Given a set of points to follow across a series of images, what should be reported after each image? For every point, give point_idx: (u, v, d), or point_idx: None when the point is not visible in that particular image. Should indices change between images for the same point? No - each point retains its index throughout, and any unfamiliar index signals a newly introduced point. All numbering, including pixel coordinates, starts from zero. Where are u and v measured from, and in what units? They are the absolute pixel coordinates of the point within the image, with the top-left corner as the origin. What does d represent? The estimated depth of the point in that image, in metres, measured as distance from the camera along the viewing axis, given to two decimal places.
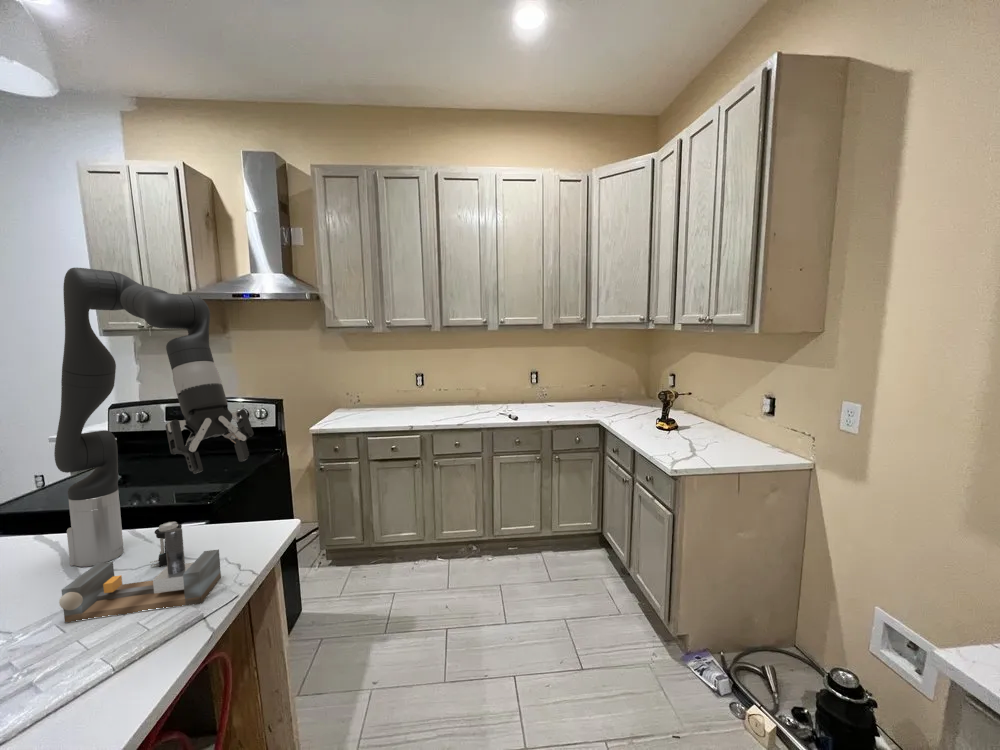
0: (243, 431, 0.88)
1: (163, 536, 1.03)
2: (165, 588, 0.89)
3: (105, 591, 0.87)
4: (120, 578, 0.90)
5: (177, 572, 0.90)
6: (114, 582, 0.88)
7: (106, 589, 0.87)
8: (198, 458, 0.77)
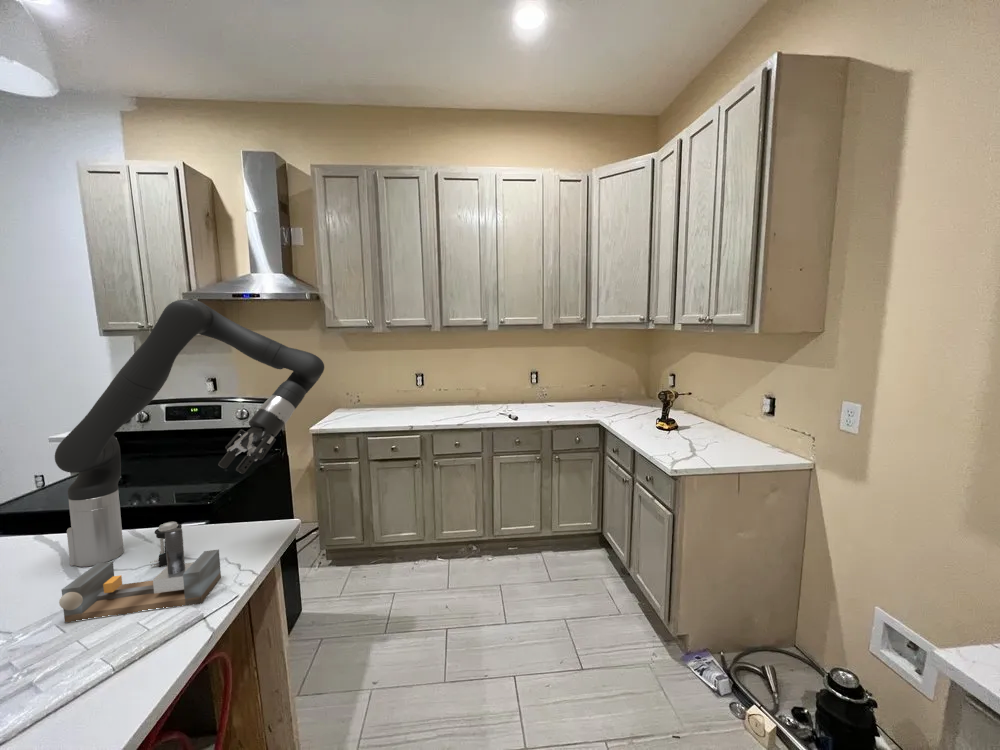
0: None
1: (163, 536, 1.03)
2: (165, 588, 0.89)
3: (105, 591, 0.87)
4: (120, 578, 0.90)
5: (177, 572, 0.90)
6: (114, 582, 0.88)
7: (106, 589, 0.87)
8: None
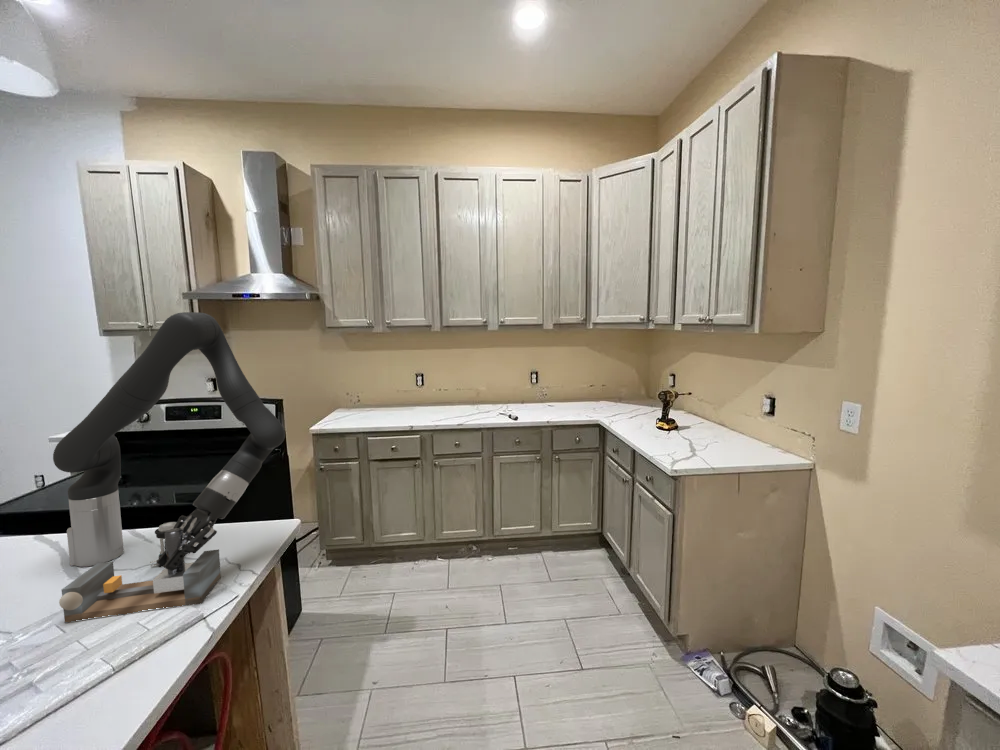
0: None
1: (163, 536, 1.03)
2: (165, 588, 0.89)
3: (105, 591, 0.87)
4: (120, 578, 0.90)
5: (177, 572, 0.90)
6: (114, 582, 0.88)
7: (106, 589, 0.87)
8: None
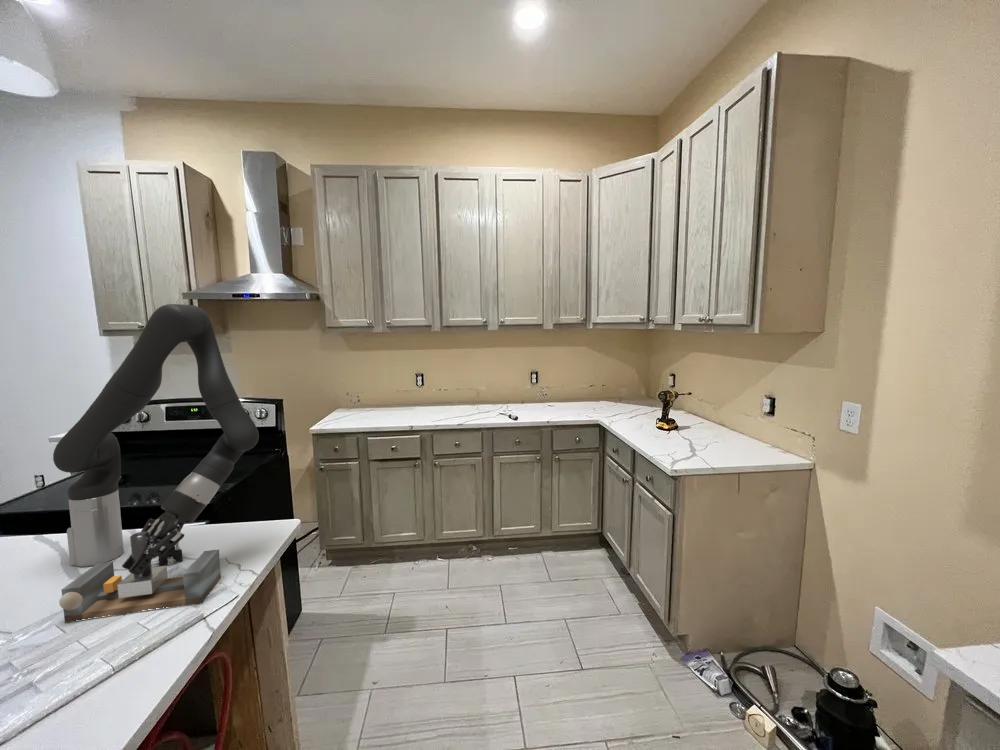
0: None
1: None
2: (130, 592, 0.87)
3: (105, 591, 0.87)
4: (120, 578, 0.90)
5: (143, 576, 0.89)
6: (114, 582, 0.88)
7: (106, 589, 0.87)
8: None
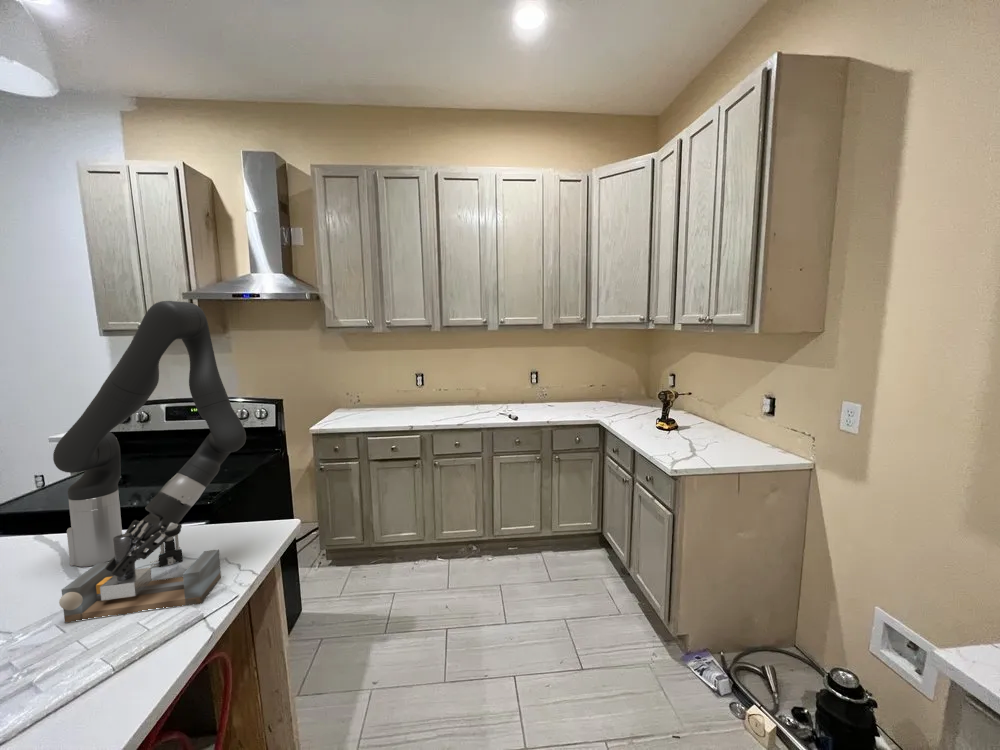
0: None
1: None
2: (113, 595, 0.86)
3: (98, 592, 0.87)
4: None
5: (126, 578, 0.88)
6: None
7: (99, 590, 0.87)
8: None
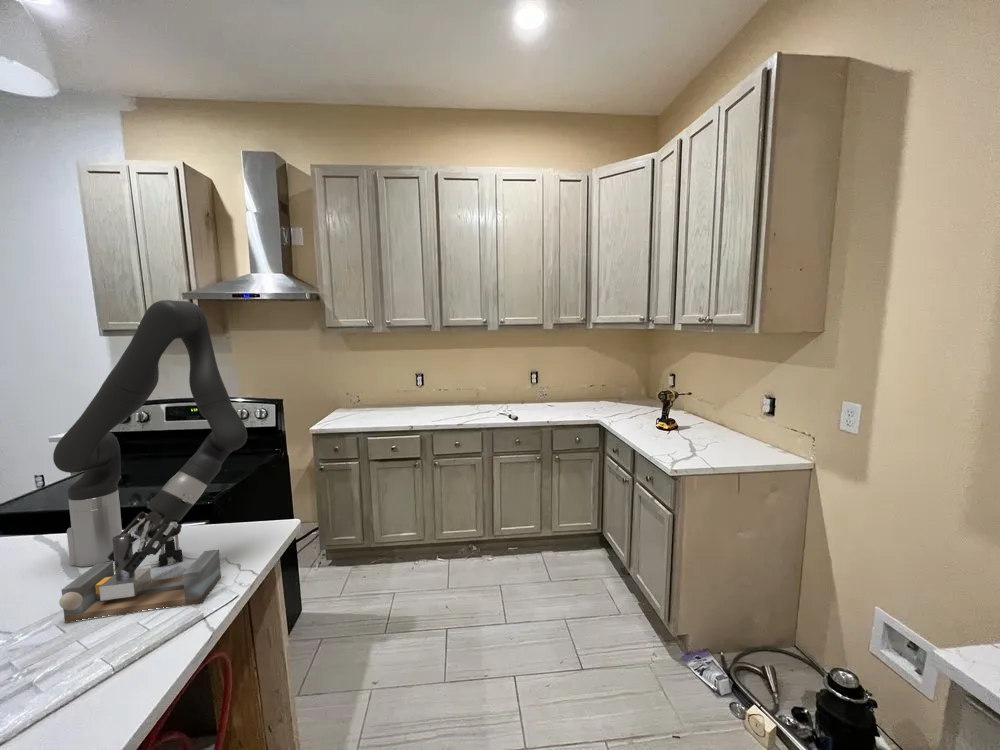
0: None
1: None
2: (112, 595, 0.86)
3: (97, 592, 0.87)
4: None
5: (125, 579, 0.88)
6: None
7: (98, 590, 0.87)
8: None
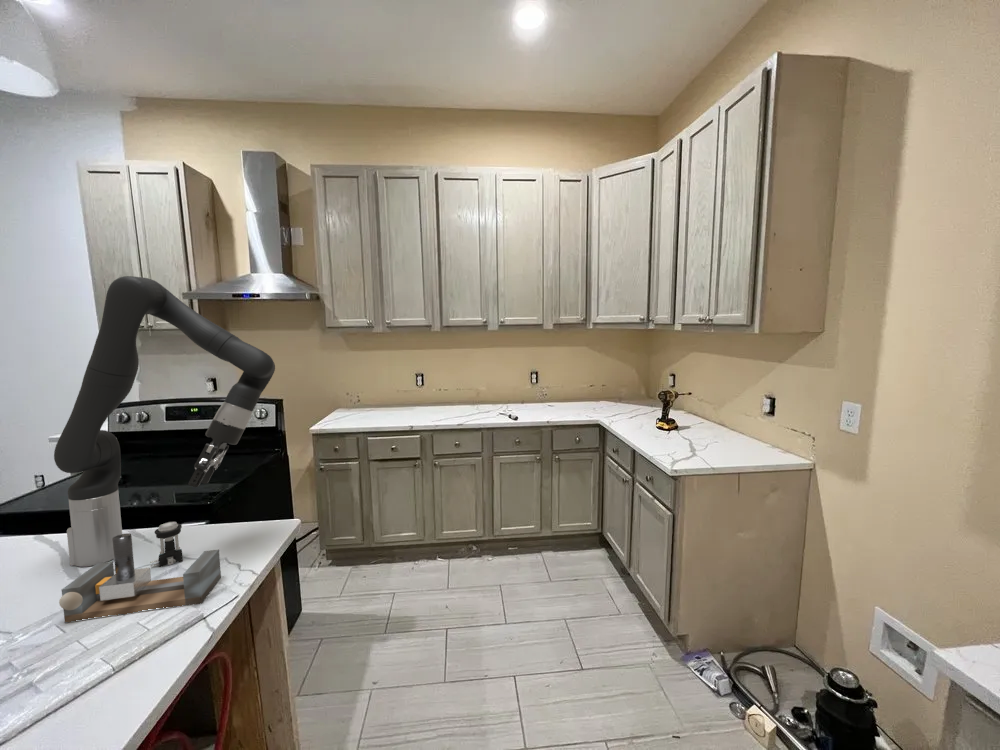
0: None
1: (163, 536, 1.03)
2: (112, 595, 0.86)
3: (97, 592, 0.87)
4: None
5: (125, 579, 0.88)
6: None
7: (98, 590, 0.87)
8: (203, 477, 1.00)
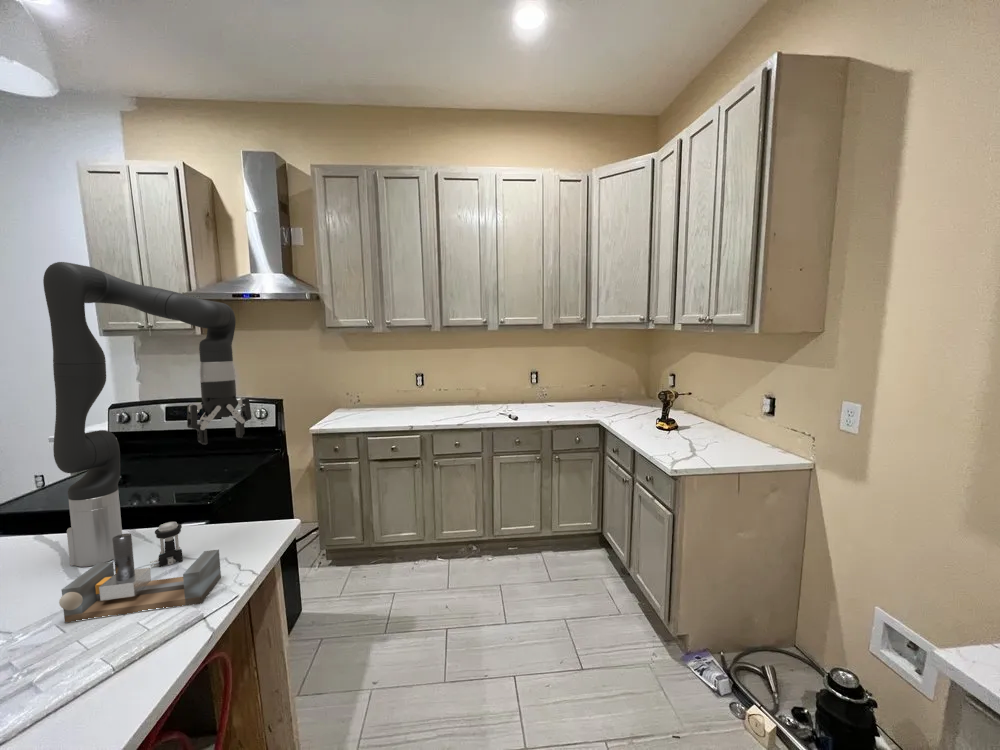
0: (244, 413, 1.14)
1: (163, 536, 1.03)
2: (112, 595, 0.86)
3: (97, 592, 0.87)
4: None
5: (125, 579, 0.88)
6: None
7: (98, 590, 0.87)
8: (206, 435, 1.05)
